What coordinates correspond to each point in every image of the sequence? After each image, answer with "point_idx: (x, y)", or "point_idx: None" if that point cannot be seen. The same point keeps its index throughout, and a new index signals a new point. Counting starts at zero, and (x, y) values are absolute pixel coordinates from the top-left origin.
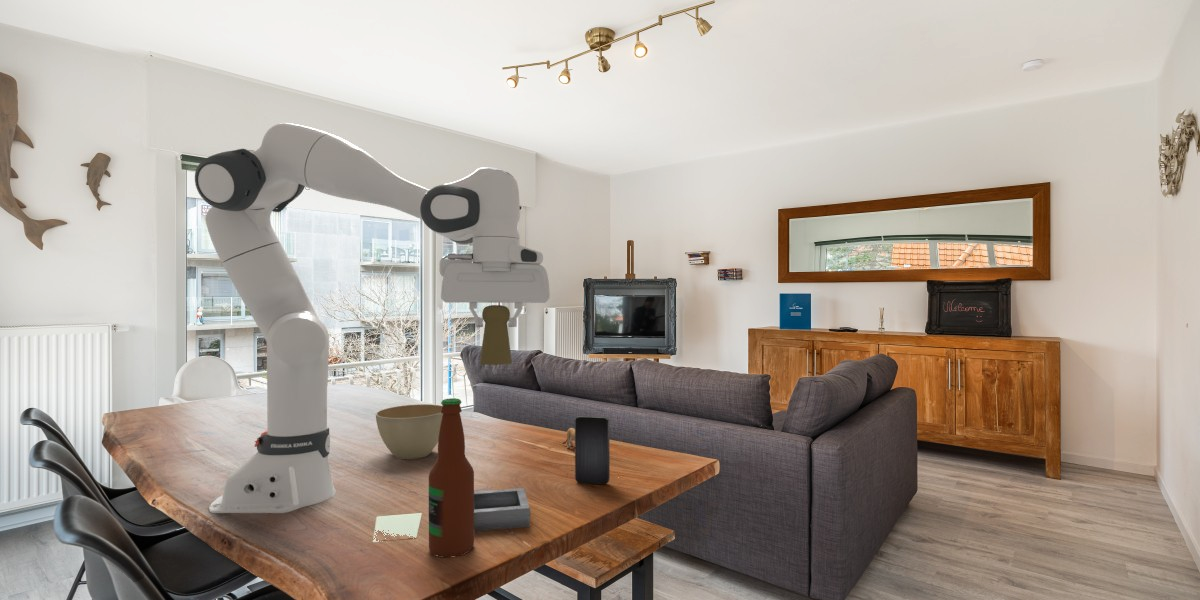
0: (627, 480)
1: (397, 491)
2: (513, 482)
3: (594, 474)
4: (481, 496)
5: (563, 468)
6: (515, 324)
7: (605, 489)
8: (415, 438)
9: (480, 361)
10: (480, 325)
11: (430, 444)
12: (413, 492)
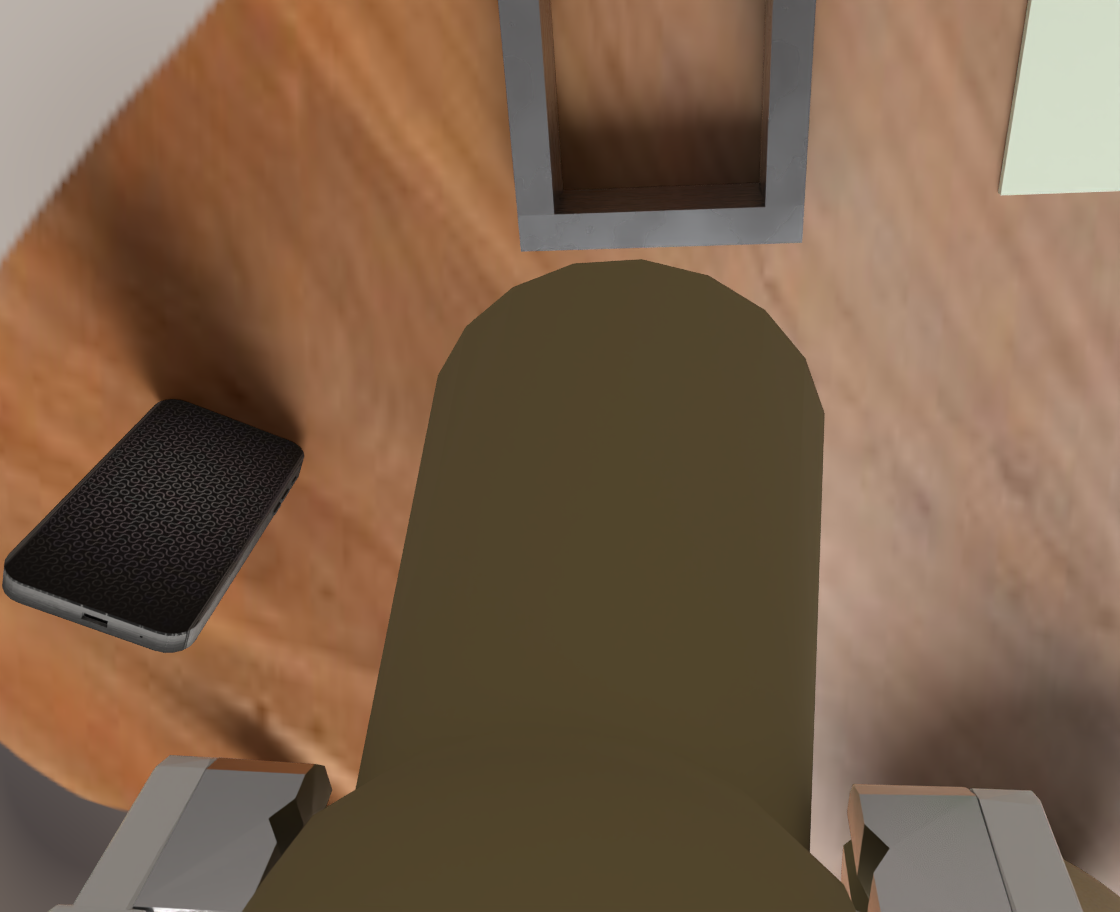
0: (88, 431)
1: (1084, 500)
2: None
3: (209, 437)
4: (727, 204)
5: (363, 619)
6: (172, 775)
7: (177, 345)
8: None
9: (821, 418)
10: (918, 798)
11: None
12: (1015, 475)
